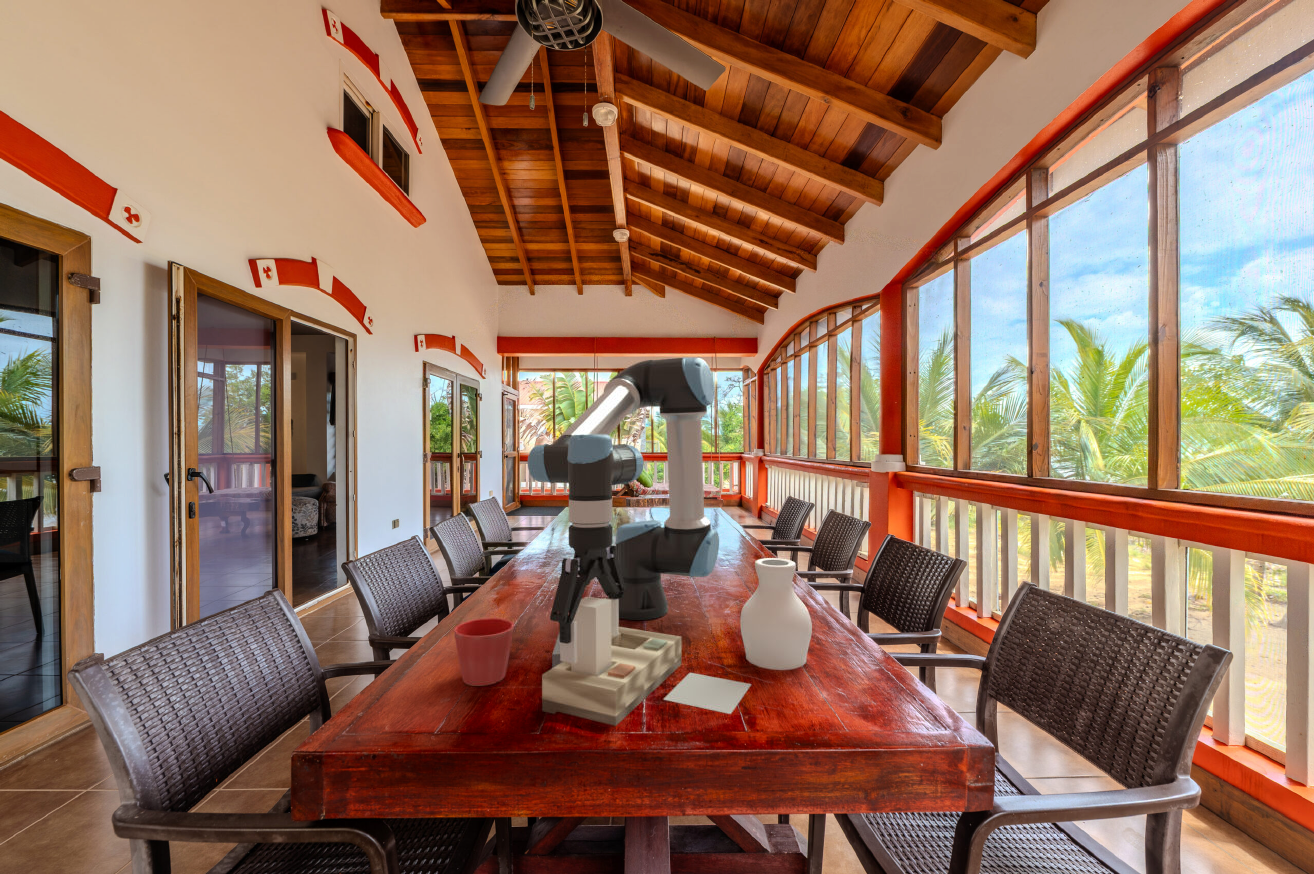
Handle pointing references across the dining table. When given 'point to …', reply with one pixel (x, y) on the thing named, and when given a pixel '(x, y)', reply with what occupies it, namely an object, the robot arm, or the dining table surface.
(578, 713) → the socket box
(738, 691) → the mat
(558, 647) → the plug
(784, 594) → the vase
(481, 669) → the flower pot
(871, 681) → the dining table surface
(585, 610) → the plug
